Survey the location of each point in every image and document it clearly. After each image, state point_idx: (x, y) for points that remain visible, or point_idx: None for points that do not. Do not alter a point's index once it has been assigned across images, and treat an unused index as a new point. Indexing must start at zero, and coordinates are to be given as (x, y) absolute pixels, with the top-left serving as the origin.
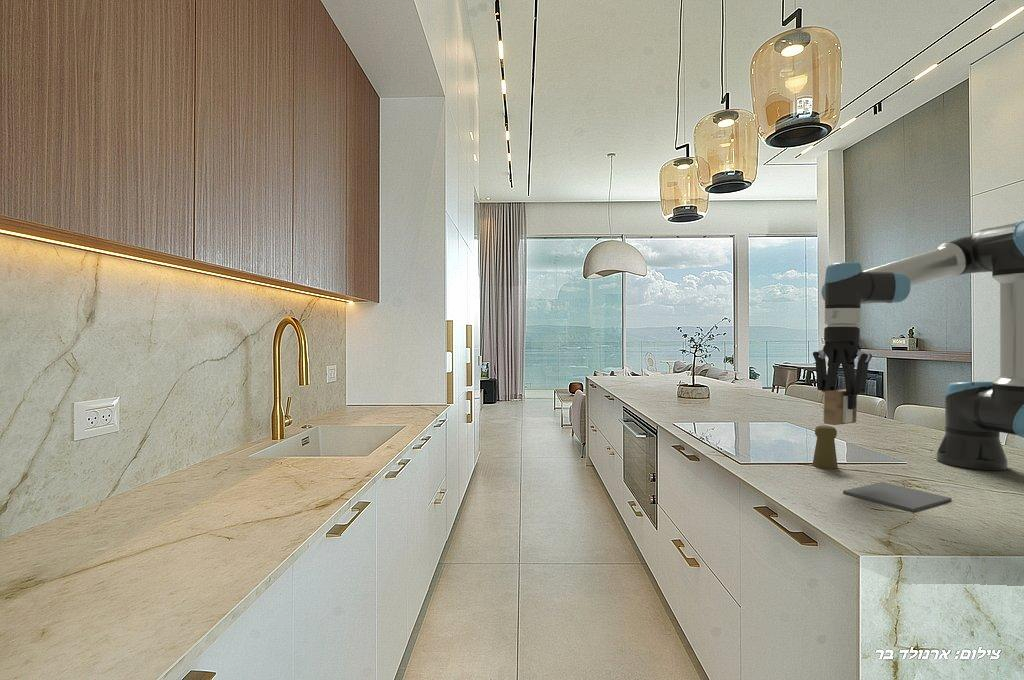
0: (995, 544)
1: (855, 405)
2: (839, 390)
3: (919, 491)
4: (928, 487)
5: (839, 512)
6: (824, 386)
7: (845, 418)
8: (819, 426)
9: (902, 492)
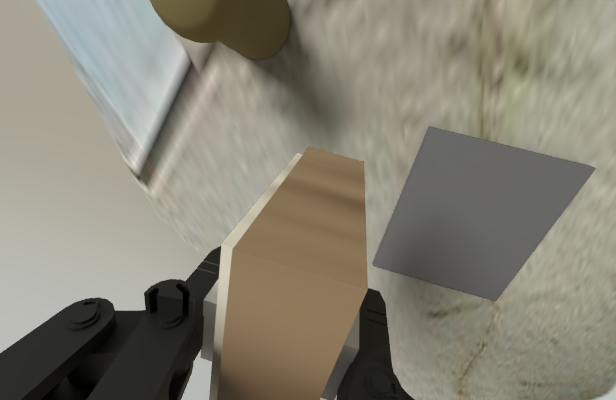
0: (597, 370)
1: (384, 318)
2: (254, 397)
3: (520, 160)
4: (552, 48)
5: (392, 353)
6: (102, 374)
7: None
8: (164, 10)
9: (479, 199)
